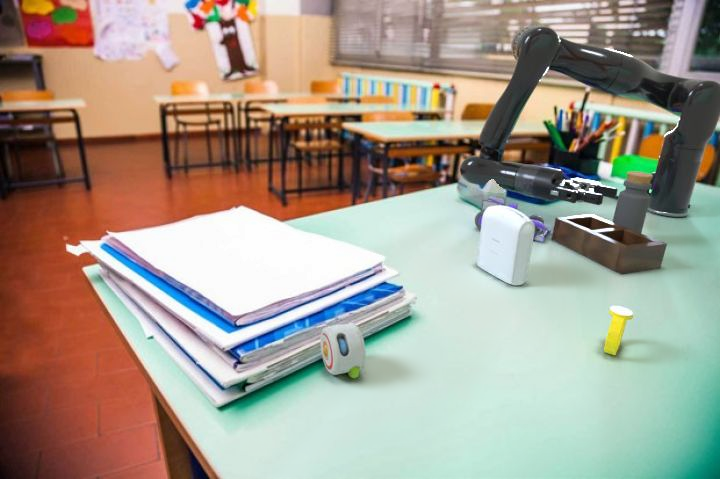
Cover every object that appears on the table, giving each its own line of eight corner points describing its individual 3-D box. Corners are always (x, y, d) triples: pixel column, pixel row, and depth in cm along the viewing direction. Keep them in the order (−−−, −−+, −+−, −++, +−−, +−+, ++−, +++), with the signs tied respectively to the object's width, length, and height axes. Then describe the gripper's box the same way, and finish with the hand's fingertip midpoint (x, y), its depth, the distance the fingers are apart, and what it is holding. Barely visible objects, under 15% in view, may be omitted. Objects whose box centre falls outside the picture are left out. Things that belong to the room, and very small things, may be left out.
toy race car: (541, 244, 103) (546, 215, 100) (473, 229, 110) (476, 201, 108) (552, 232, 110) (557, 204, 108) (487, 219, 118) (491, 192, 116)
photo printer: (472, 265, 91) (480, 201, 87) (490, 261, 93) (499, 199, 89) (510, 288, 83) (522, 218, 78) (529, 284, 85) (542, 215, 80)
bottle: (603, 236, 109) (618, 170, 104) (628, 236, 110) (644, 170, 104) (618, 246, 104) (635, 176, 98) (644, 246, 104) (662, 177, 99)
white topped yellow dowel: (618, 363, 63) (629, 323, 61) (595, 356, 65) (605, 316, 63) (626, 343, 68) (636, 305, 66) (604, 336, 69) (614, 299, 67)
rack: (551, 239, 106) (555, 217, 104) (587, 235, 110) (591, 214, 108) (621, 274, 90) (627, 249, 88) (660, 268, 93) (667, 243, 92)
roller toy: (331, 388, 56) (332, 344, 54) (314, 357, 62) (315, 317, 60) (366, 380, 58) (369, 337, 56) (347, 351, 64) (348, 311, 61)
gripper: (527, 170, 111) (601, 185, 100) (554, 162, 121) (624, 175, 110) (522, 202, 114) (593, 219, 103) (549, 192, 123) (617, 207, 113)
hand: (609, 196), depth 107 cm, fingers open, 8 cm apart
